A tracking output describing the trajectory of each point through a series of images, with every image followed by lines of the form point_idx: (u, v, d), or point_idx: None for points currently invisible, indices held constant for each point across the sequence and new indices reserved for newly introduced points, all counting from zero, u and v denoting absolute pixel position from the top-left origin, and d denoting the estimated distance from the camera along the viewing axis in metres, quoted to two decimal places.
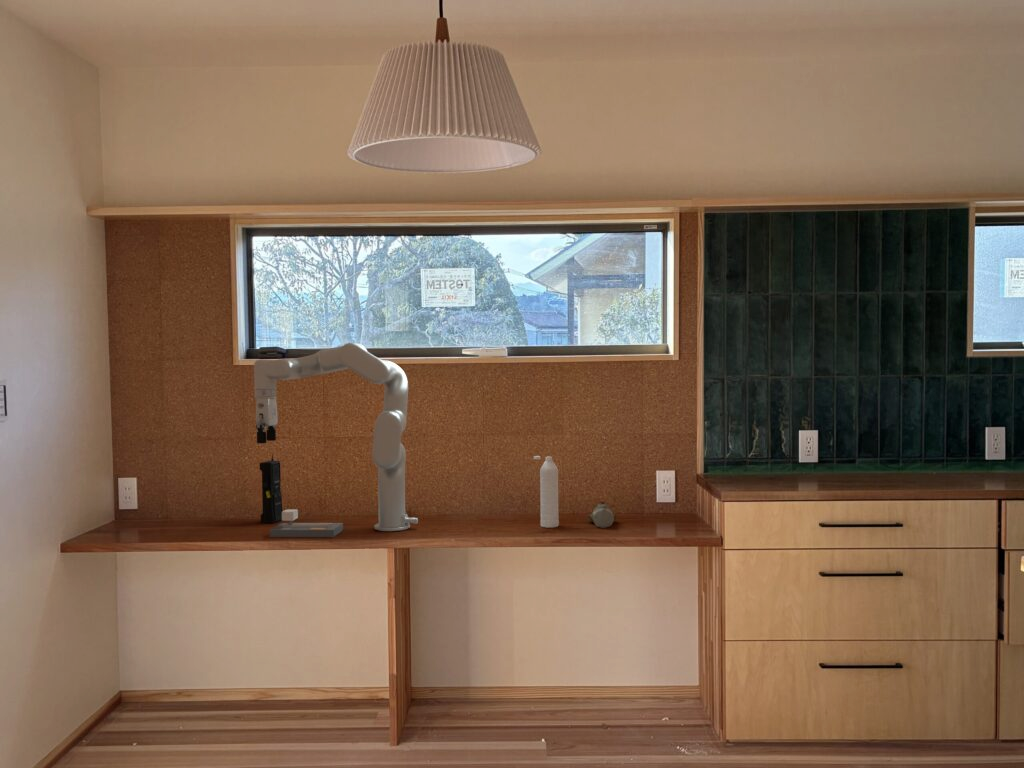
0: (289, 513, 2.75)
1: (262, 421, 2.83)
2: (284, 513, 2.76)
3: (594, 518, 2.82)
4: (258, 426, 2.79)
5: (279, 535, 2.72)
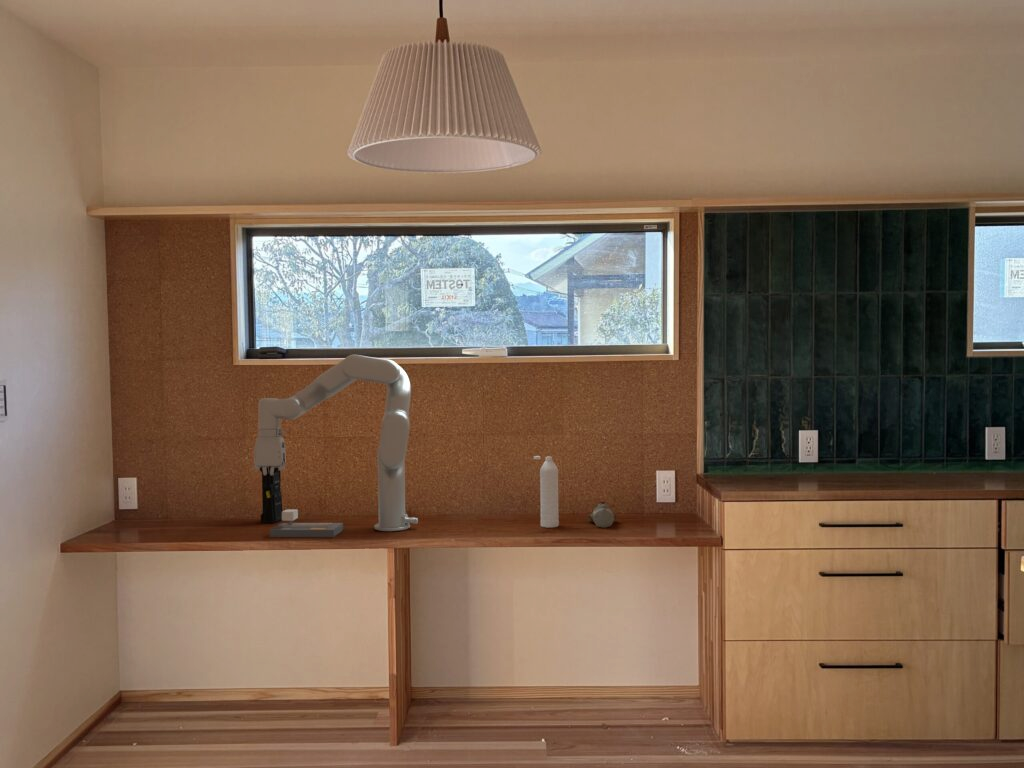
0: (289, 513, 2.75)
1: None
2: (284, 513, 2.76)
3: (594, 518, 2.82)
4: (278, 470, 2.78)
5: (279, 535, 2.72)
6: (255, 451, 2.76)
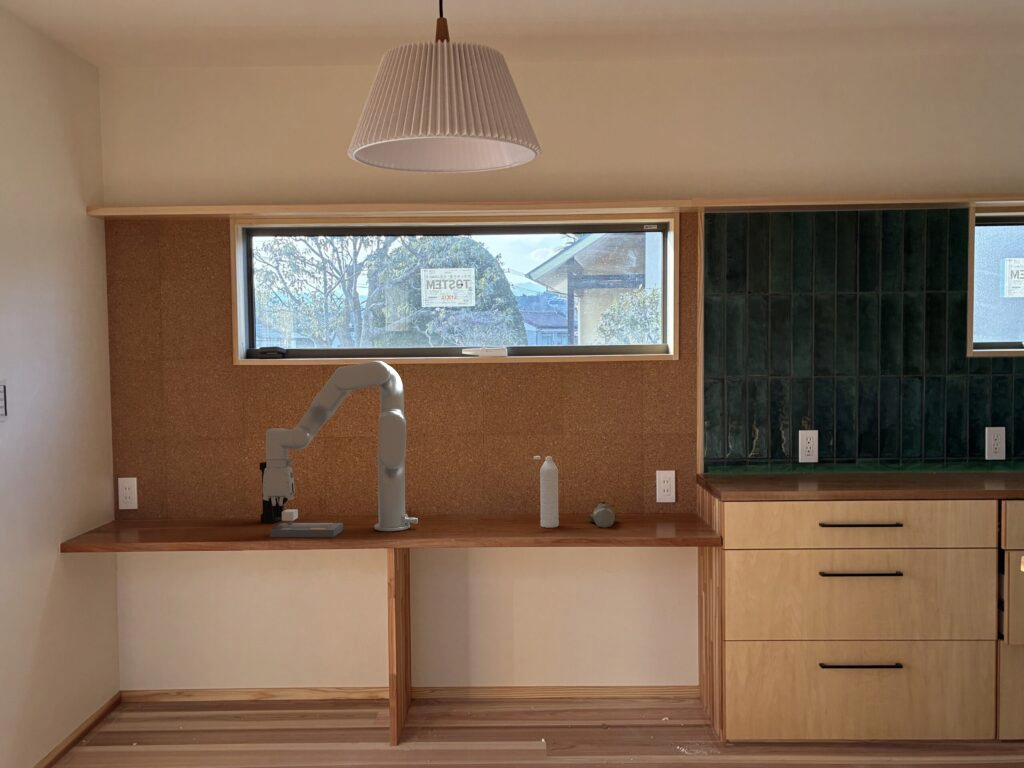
0: (289, 513, 2.75)
1: None
2: (284, 513, 2.76)
3: (595, 518, 2.82)
4: (287, 500, 2.78)
5: (279, 535, 2.72)
6: (263, 482, 2.76)
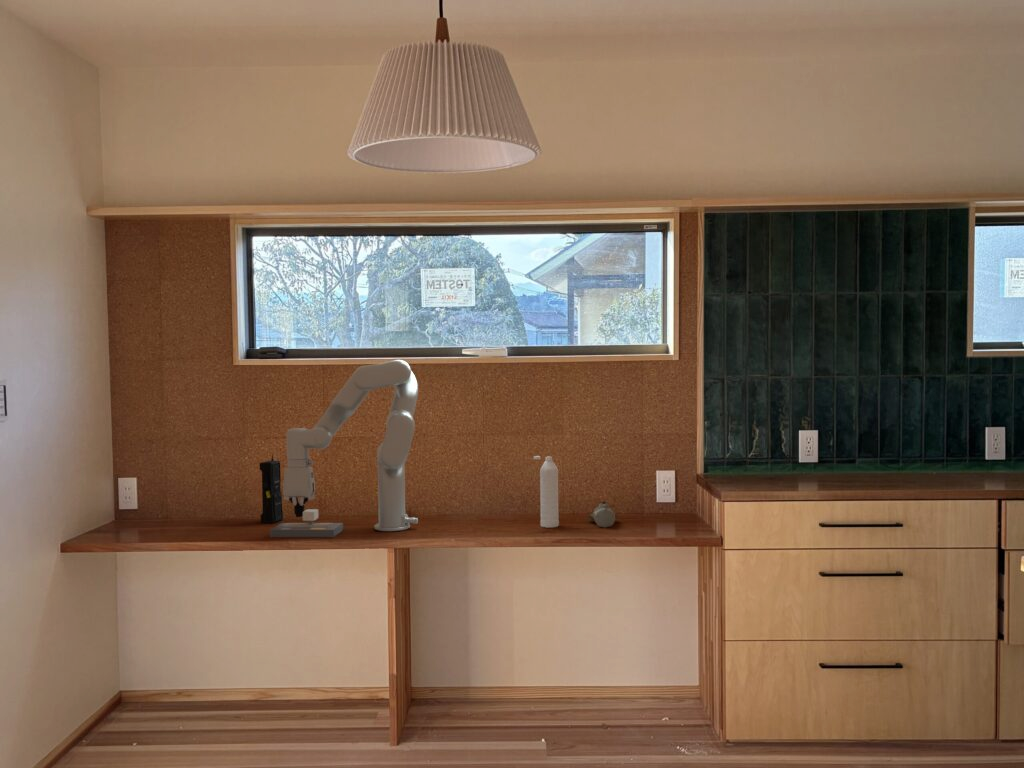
0: (310, 513, 2.75)
1: None
2: (305, 513, 2.75)
3: (596, 518, 2.82)
4: None
5: (279, 535, 2.72)
6: (284, 481, 2.76)
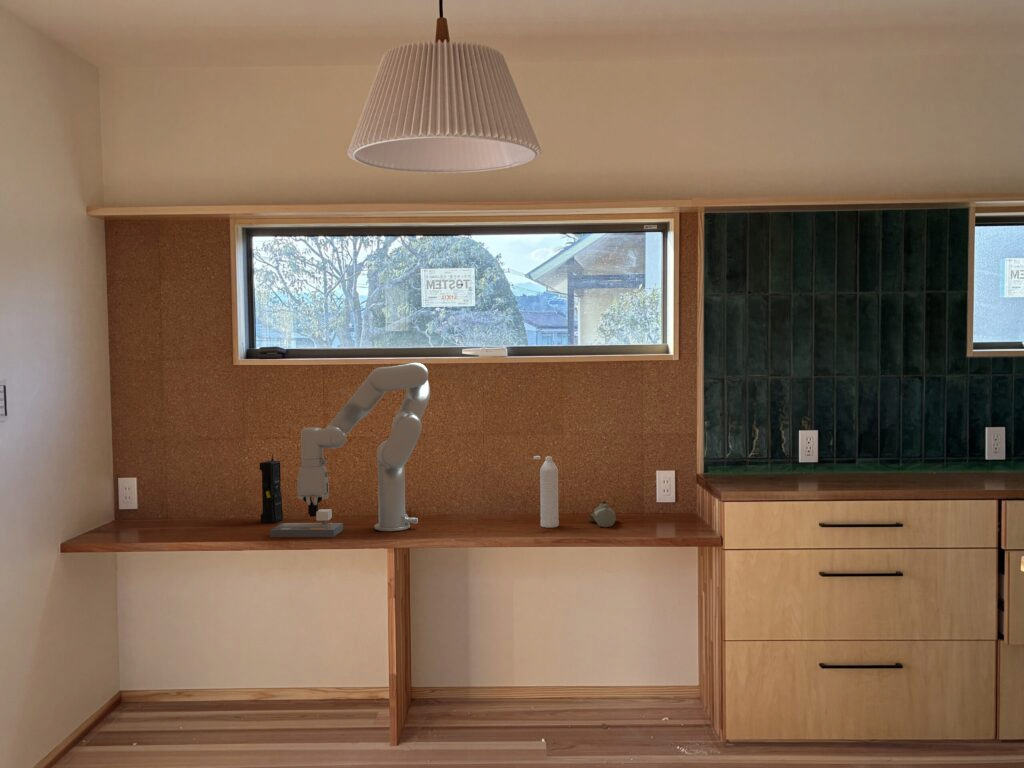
0: (324, 513, 2.75)
1: None
2: (319, 513, 2.75)
3: (596, 518, 2.82)
4: (321, 499, 2.77)
5: (279, 535, 2.72)
6: (298, 481, 2.76)
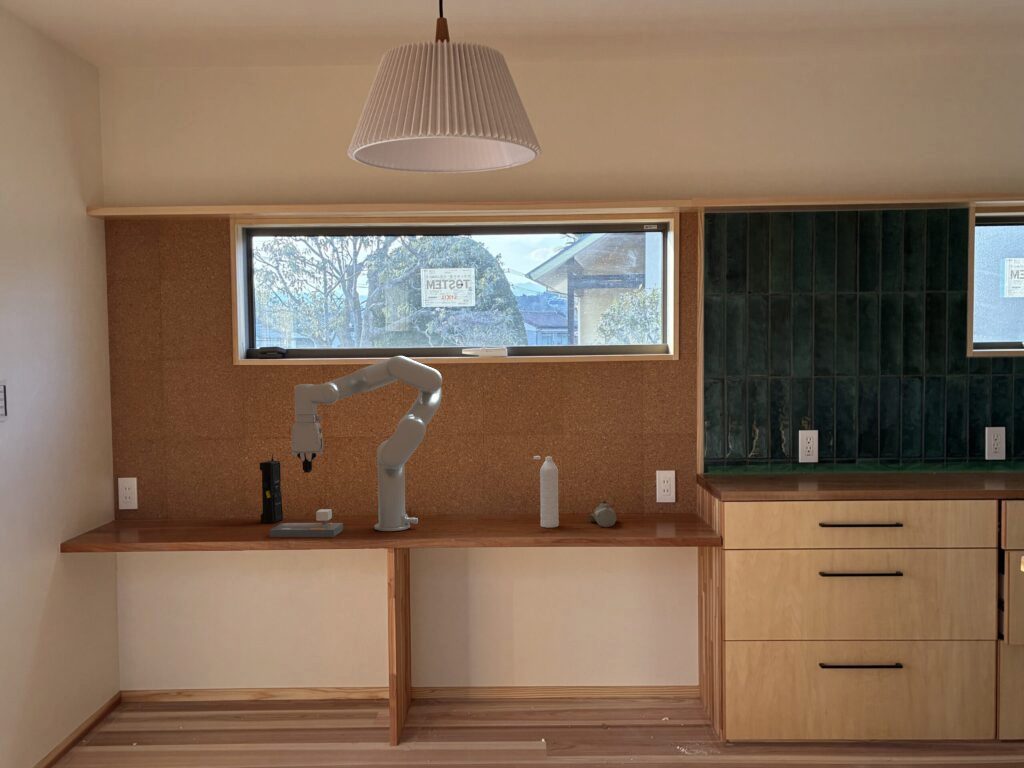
0: (324, 513, 2.75)
1: None
2: (319, 513, 2.75)
3: (597, 517, 2.83)
4: None
5: (279, 535, 2.72)
6: (292, 437, 2.76)
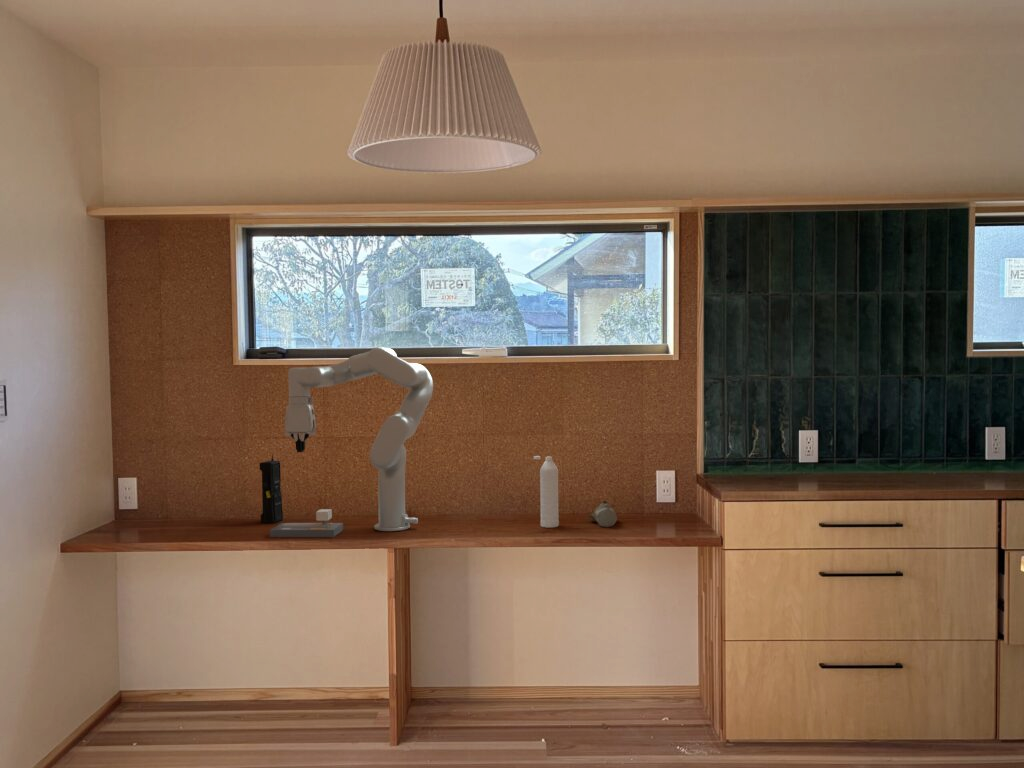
0: (324, 513, 2.75)
1: None
2: (319, 513, 2.75)
3: (597, 517, 2.83)
4: (308, 436, 2.90)
5: (279, 535, 2.72)
6: (286, 418, 2.88)
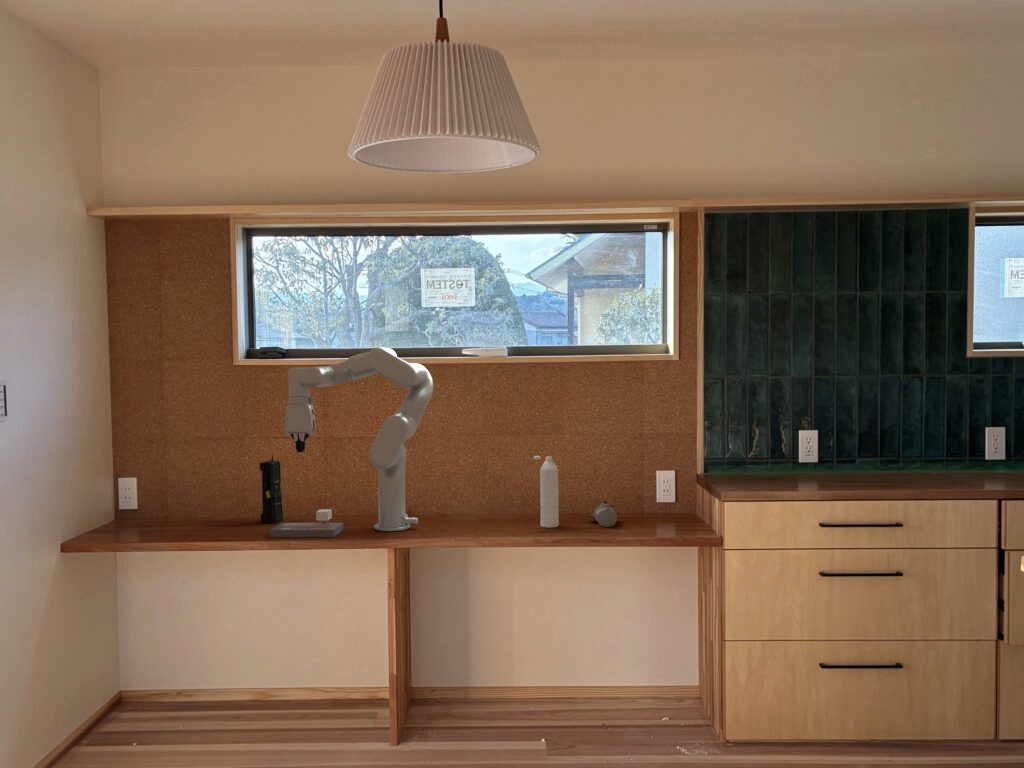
0: (324, 513, 2.75)
1: None
2: (319, 513, 2.75)
3: (598, 517, 2.83)
4: (308, 436, 2.90)
5: (279, 535, 2.72)
6: (286, 418, 2.88)
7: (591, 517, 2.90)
